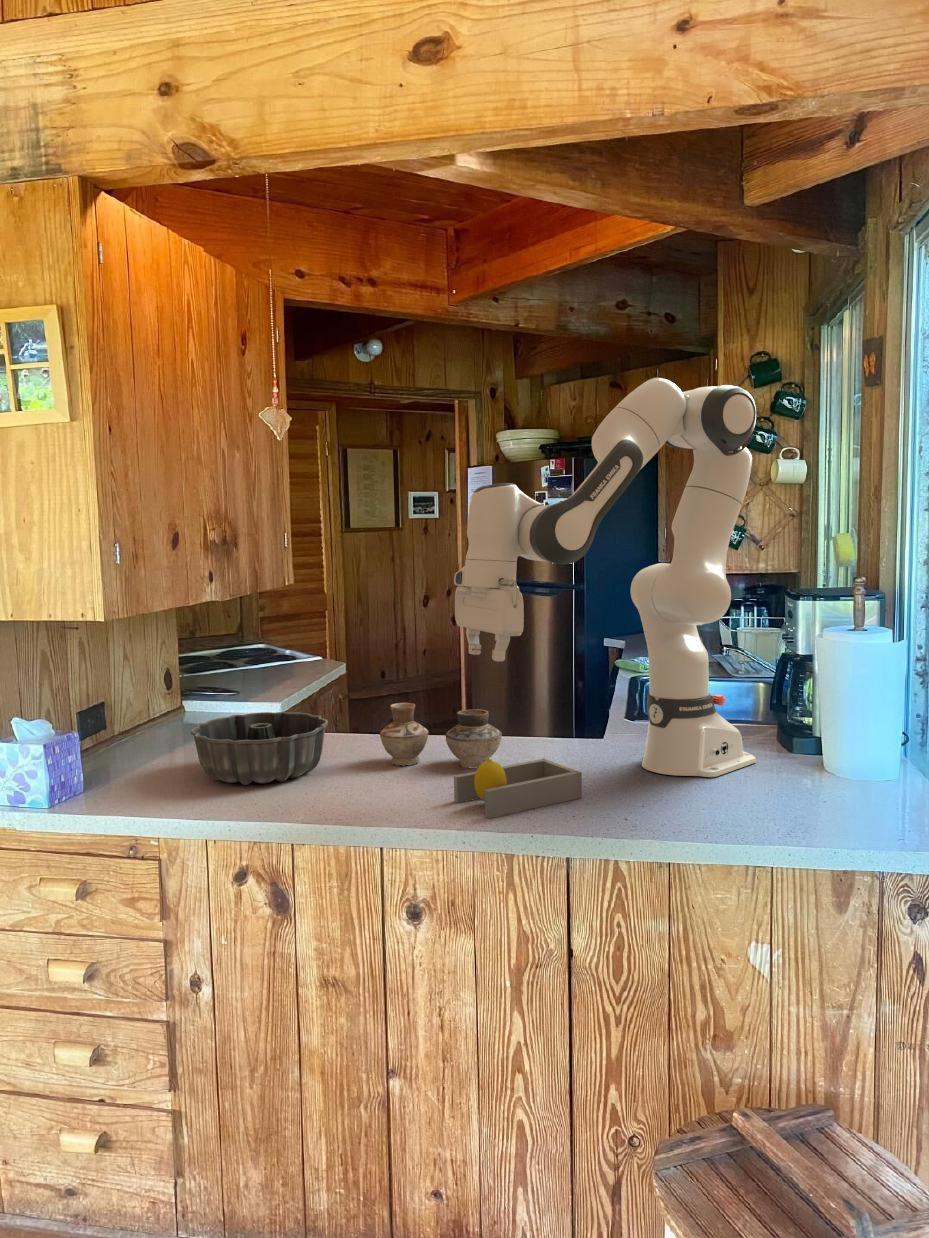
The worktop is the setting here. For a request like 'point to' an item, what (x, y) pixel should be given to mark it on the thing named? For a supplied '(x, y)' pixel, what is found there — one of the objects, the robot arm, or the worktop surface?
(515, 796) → the trough
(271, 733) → the bundt pan
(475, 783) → the lemon
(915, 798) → the worktop surface
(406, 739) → the pottery
